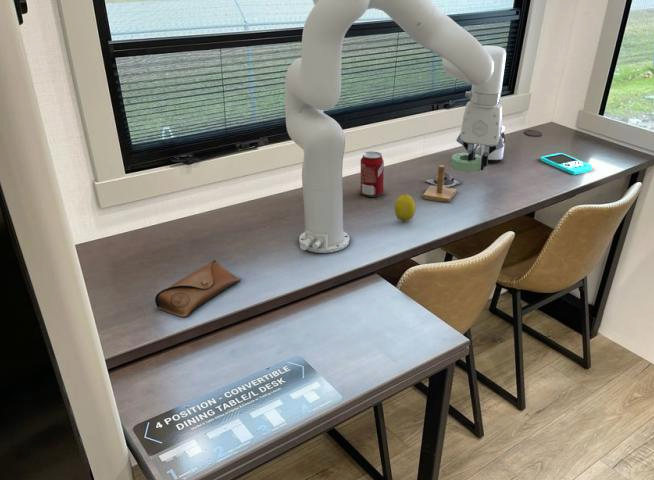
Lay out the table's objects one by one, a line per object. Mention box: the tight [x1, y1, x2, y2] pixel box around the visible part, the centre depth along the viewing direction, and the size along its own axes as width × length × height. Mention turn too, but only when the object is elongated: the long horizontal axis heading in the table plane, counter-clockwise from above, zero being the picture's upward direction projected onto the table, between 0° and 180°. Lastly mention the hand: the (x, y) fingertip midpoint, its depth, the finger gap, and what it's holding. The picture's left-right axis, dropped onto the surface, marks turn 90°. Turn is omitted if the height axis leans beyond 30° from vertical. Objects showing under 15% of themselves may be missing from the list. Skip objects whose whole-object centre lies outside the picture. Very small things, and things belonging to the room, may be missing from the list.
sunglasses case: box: [154, 259, 242, 318], centre depth 129 cm, size 18×7×7 cm
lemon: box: [394, 193, 416, 223], centre depth 161 cm, size 6×6×8 cm
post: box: [422, 164, 457, 203], centre depth 176 cm, size 8×8×9 cm
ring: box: [449, 152, 482, 173], centre depth 164 cm, size 8×8×2 cm
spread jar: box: [474, 124, 506, 164], centre depth 204 cm, size 12×11×12 cm
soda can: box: [360, 151, 385, 198], centre depth 176 cm, size 7×7×12 cm
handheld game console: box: [540, 152, 593, 176], centre depth 204 cm, size 10×16×1 cm, turn 30°
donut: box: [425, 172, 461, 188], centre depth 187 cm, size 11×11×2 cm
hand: (477, 167), depth 164 cm, fingers closed on ring, 2 cm apart
